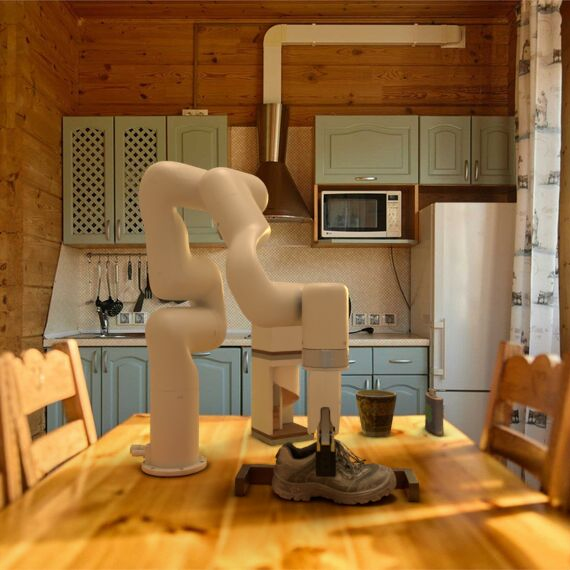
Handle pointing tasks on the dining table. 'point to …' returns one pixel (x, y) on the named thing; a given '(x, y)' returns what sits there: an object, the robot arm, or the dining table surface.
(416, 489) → the bracket
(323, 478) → the hiking shoe
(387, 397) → the ceramic cup
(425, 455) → the dining table surface
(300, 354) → the cream pedestal stand
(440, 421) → the flask
